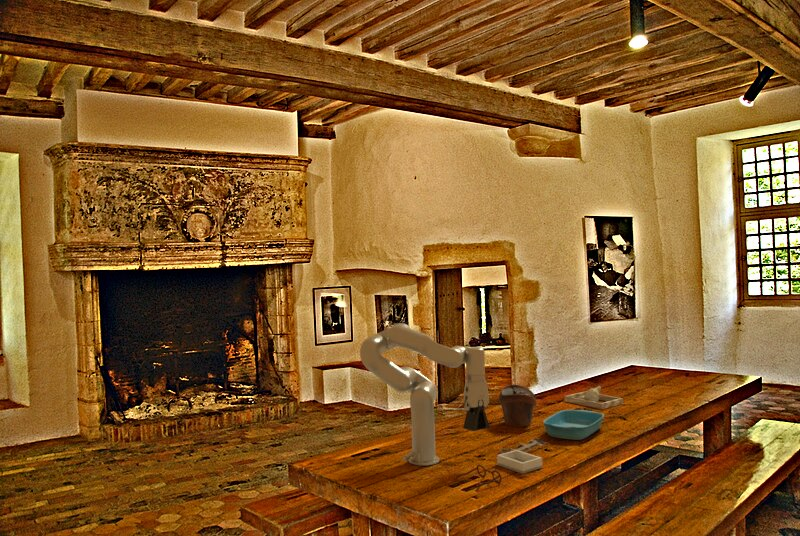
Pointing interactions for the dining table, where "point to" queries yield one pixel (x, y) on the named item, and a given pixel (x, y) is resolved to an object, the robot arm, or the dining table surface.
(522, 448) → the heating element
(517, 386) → the brown bucket
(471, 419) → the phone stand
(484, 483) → the glasses
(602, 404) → the cheese board rim
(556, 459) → the dining table surface
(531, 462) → the cream rectangular tray
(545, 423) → the casserole dish
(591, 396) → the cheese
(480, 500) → the dining table surface
